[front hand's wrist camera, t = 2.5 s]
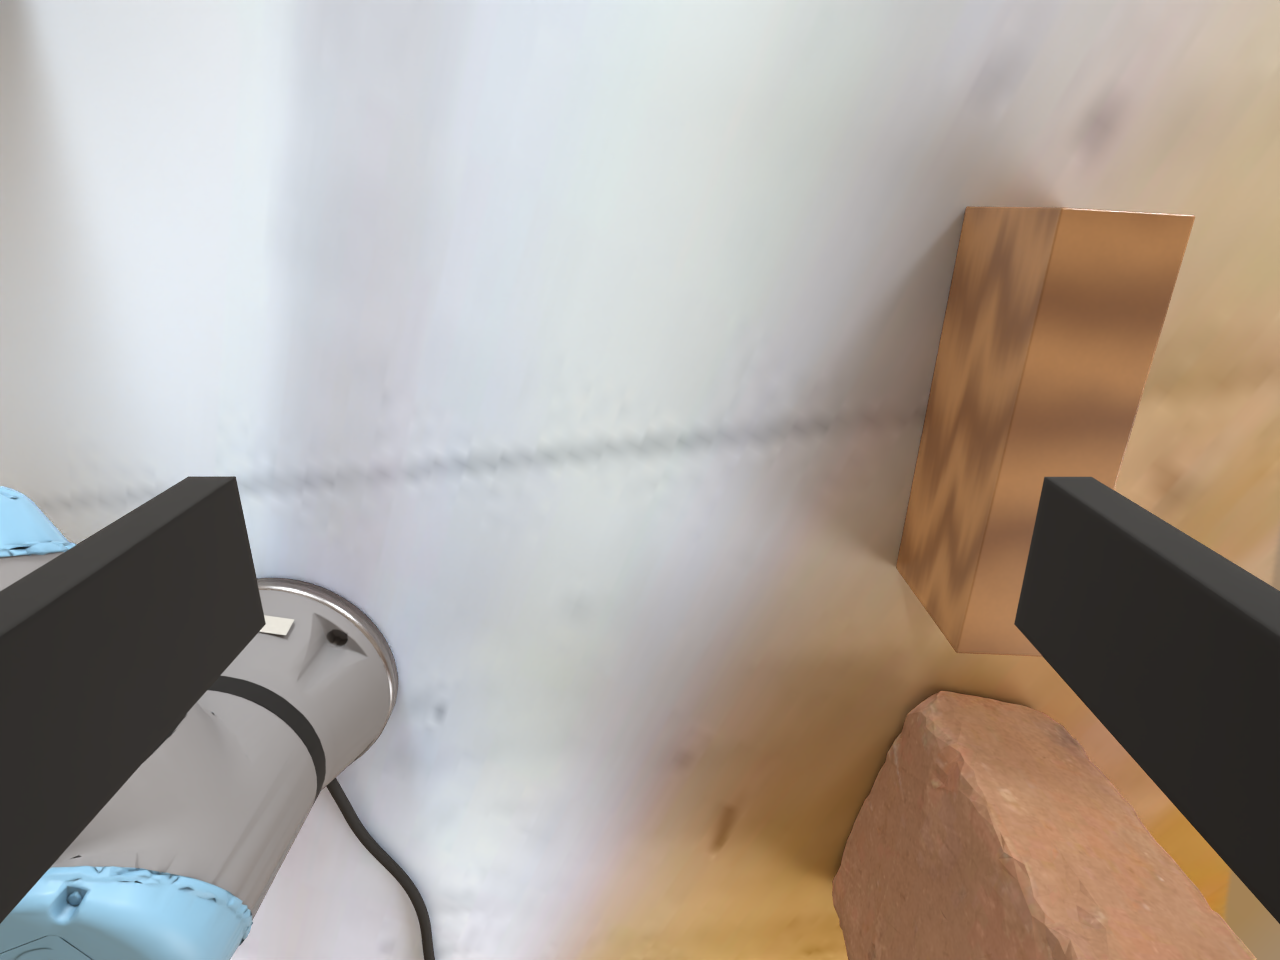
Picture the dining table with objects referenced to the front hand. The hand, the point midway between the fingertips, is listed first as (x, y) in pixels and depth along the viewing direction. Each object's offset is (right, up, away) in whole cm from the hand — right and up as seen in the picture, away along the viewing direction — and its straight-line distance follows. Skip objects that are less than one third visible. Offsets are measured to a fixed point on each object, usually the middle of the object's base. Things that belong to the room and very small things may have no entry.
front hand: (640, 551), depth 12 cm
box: (+21, +6, +34) cm, 40 cm away
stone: (+22, -23, +45) cm, 55 cm away
